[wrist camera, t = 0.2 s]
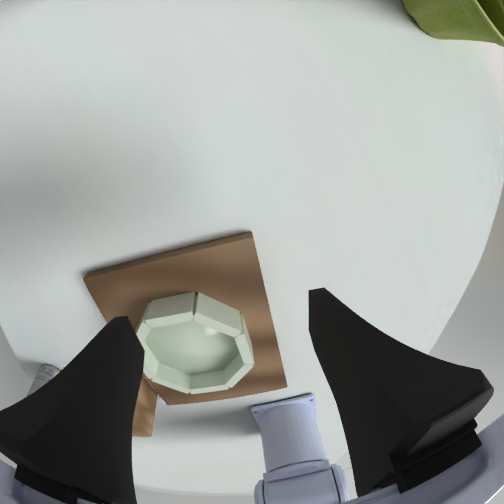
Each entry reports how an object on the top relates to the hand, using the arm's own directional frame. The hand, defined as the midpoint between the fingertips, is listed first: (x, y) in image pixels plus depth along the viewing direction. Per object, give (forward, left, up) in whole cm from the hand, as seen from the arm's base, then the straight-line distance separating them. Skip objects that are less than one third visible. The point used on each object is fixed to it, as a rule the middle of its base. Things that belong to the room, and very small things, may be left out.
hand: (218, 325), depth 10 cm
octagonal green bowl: (-9, +5, -9) cm, 14 cm away
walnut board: (-10, +5, -10) cm, 15 cm away
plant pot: (+16, -21, -10) cm, 28 cm away
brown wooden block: (-16, +15, -10) cm, 24 cm away
